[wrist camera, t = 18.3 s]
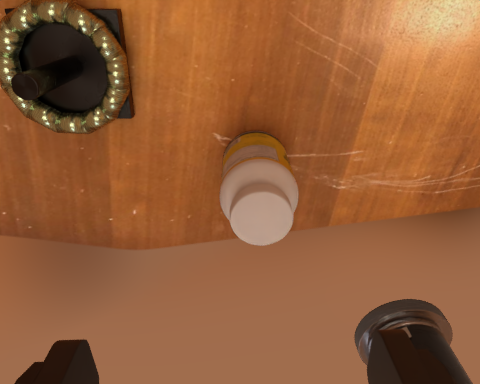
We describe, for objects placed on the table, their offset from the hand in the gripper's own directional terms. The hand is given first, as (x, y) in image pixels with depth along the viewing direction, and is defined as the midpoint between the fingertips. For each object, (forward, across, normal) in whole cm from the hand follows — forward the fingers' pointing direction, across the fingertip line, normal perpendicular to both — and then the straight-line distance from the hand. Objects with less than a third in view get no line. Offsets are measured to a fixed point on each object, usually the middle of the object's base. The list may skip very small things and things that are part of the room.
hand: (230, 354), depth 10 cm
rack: (+27, +14, -5) cm, 31 cm away
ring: (+25, +14, -4) cm, 29 cm away
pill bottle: (+27, -2, +5) cm, 28 cm away
